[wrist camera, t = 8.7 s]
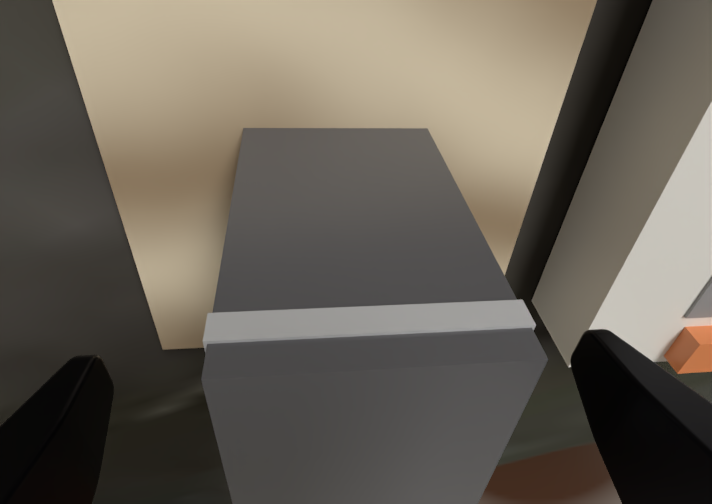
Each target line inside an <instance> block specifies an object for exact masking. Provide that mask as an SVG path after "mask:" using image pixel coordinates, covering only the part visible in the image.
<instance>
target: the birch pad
mask: <svg viewBox="0 0 712 504" xmlns="http://www.w3.org/2000/svg"><path fill="white" fill-rule="evenodd" d="M52 1H53V4H54V8H55V11H56V14H57V17H58V20H59V23H60V27H61V30H62V33H63V36H64V39H65V42H66V45H67V49H68V52H69V55H70V58H71V61H72V64H73V68H74V71H75V74H76V77H77V80H78V83H79V87H80V90H81V93H82V96H83V99H84V102H85V105H86V109H87V112H88V115H89V118H90V121H91V124H92V128H93V131H94V134H95V137H96V140H97V143H98V147H99V150H100V153H101V156H102V159H103V162H104V165H105V169H106V172H107V175H108V178H109V181H110V184H111V188H112V191H113V194H114V197H115V200H116V203H117V207H118V210H119V213H120V216H121V219H122V222H123V225H124V229H125V232H126V235H127V238H128V241H129V244H130V248H131V251H132V254H133V257H134V260H135V263H136V266H137V270H138V273H139V276H140V279H141V282H142V285H143V289H144V292H145V295H146V298H147V301H148V304H149V308H150V311H151V314H152V317H153V320H154V323H155V326H156V330H157V333H158V336H159V339H160V342H161V345H162V349H163V350H167V349H186V348H204V345H203V336H204V331H205V325H206V320H207V314H208V313H212V312H213V306H214V300H215V294H216V288H217V283H218V277H219V271H220V265H221V259H222V253H223V247H224V241H225V235H226V229H227V223H228V217H229V211H230V205H231V199H232V193H233V187H234V181H235V176H236V170H237V164H238V158H239V152H240V146H241V140H242V134H243V128H428V130H429V132H430V134H431V136H432V138H433V140H434V142H435V144H436V146H437V148H438V149H439V151H440V153H441V155H442V157H443V159H444V161H445V163H446V165H447V167H448V169H449V170H450V172H451V174H452V176H453V178H454V180H455V182H456V184H457V186H458V188H459V190H460V192H461V193H462V195H463V197H464V199H465V201H466V203H467V205H468V207H469V209H470V211H471V213H472V214H473V216H474V218H475V220H476V222H477V224H478V226H479V228H480V230H481V232H482V234H483V235H484V237H485V239H486V241H487V243H488V245H489V247H490V249H491V251H492V253H493V255H494V256H495V258H496V260H497V262H498V264H499V266H500V268H501V270H502V272H503V274H504V276H505V273H506V270H507V267H508V264H509V261H510V258H511V255H512V252H513V249H514V246H515V243H516V240H517V237H518V234H519V231H520V228H521V225H522V222H523V219H524V216H525V213H526V210H527V207H528V204H529V201H530V198H531V195H532V192H533V189H534V186H535V183H536V180H537V177H538V174H539V172H540V169H541V166H542V163H543V160H544V157H545V154H546V151H547V148H548V145H549V142H550V139H551V136H552V133H553V130H554V127H555V124H556V121H557V118H558V115H559V112H560V109H561V106H562V103H563V100H564V97H565V94H566V91H567V88H568V85H569V82H570V79H571V76H572V73H573V71H574V68H575V65H576V62H577V59H578V56H579V53H580V50H581V47H582V44H583V41H584V38H585V35H586V32H587V29H588V26H589V23H590V20H591V17H592V14H593V11H594V8H595V5H596V2H597V0H52Z"/></svg>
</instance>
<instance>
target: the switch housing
mask: <svg viewBox="0 0 712 504" xmlns="http://www.w3.org/2000/svg"><path fill="white" fill-rule="evenodd" d="M532 303H533V305H534V306H535V308H536V310H537V312H538V314H539V316H540V317H541V319H542V321H543V323H544V325H545V326H546V328H547V330H548V332H549V334H550V335H551V337H552V339H553V341H554V343H555V344H556V346H557V348H558V350H559V352H560V353H561V355H562V357H563V359H564V361H565V362H566V364H567V366H568V367H571V363H570V361H571V355H572V353H573V351H574V349H575V347H576V346H577V344H578V342H579V340H580V338H581V336H582V334H583V333H584V332H585V331H587V330H594V329H606V330H609V331H611V332H612V333H614V334H615V335H617V336H618V337H620V338H621V339H622V340H624V341H625V342H627V343H628V344H629V345H631V346H632V347H634V348H635V349H636V350H638V351H639V352H641V353H642V354H643V355H645V356H646V357H648V358H649V359H650V360H652V361H653V362H662V361H668V362H669V363H670V365H671V366H672V367H673V369H674V370H675V371H676V373H677V374H681V373H696V372H711V371H712V0H652V3H651V5H650V8H649V10H648V13H647V15H646V18H645V20H644V23H643V25H642V28H641V30H640V33H639V35H638V38H637V40H636V43H635V45H634V48H633V50H632V53H631V55H630V58H629V60H628V62H627V65H626V67H625V70H624V72H623V75H622V77H621V80H620V82H619V85H618V87H617V90H616V92H615V95H614V97H613V100H612V102H611V105H610V107H609V110H608V112H607V115H606V117H605V120H604V122H603V125H602V127H601V129H600V132H599V134H598V137H597V139H596V142H595V144H594V147H593V149H592V152H591V154H590V157H589V159H588V162H587V164H586V167H585V169H584V172H583V174H582V177H581V179H580V182H579V184H578V187H577V189H576V192H575V194H574V196H573V199H572V201H571V204H570V206H569V209H568V211H567V214H566V216H565V219H564V221H563V224H562V226H561V229H560V231H559V234H558V236H557V239H556V241H555V244H554V246H553V249H552V251H551V254H550V256H549V258H548V261H547V263H546V266H545V268H544V271H543V273H542V276H541V278H540V281H539V283H538V286H537V288H536V291H535V293H534V296H533V298H532Z"/></svg>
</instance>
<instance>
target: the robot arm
mask: <svg viewBox="0 0 712 504" xmlns="http://www.w3.org/2000/svg"><path fill="white" fill-rule="evenodd" d="M570 363H571V369H572V372H573V375H574V378H575V381H576V385H577V388H578V391H579V394H580V397H581V400H582V403H583V406H584V409H585V413H586V416H587V419H588V422H589V425H590V428H591V431H592V434H593V437H594V439H595V442H596V444H597V447H598V449H599V452H600V454H601V456H602V458H603V461H604V463H605V465H606V467H607V470H608V472H609V474H610V477H611V479H612V481H613V484H614V486H615V488H616V490H617V493H618V495H619V497H620V500H621V502H622V504H712V403H711V402H709V401H708V400H706V399H705V398H704V397H702V396H701V395H699V394H698V393H697V392H695V391H694V390H692V389H691V388H690V387H688V386H687V385H685V384H684V383H683V382H681V381H680V380H678V379H677V378H676V377H674V376H673V375H671V374H670V373H669V372H667V371H666V370H664V369H663V368H662V367H660V366H659V365H657V364H656V363H655V362H653V361H652V360H650V359H649V358H648V357H646V356H645V355H643V354H642V353H641V352H639V351H638V350H636V349H635V348H634V347H632V346H631V345H629V344H628V343H627V342H625V341H624V340H622V339H621V338H620V337H618V336H617V335H615V334H614V333H612V332H611V331H609V330H606V329H594V330H587V331H585V332H584V333H583V334H582V336H581V338H580V340H579V342H578V344H577V346H576V347H575V349H574V351H573V353H572V355H571V361H570ZM113 395H114V386H113V382H112V380H111V377H110V375H109V373H108V371H107V369H106V366H105V364H104V362H103V360H102V358H101V357H100V356H98V355H86V356H75V357H73V358H71V359H70V360H69V361H68V362H67V363H66V364H65V365H63V366H62V367H61V368H60V369H59V370H58V371H57V372H56V373H55V374H54V375H53V376H52V377H51V378H50V379H49V380H48V381H47V382H46V383H45V384H44V385H43V386H42V387H41V388H40V389H39V390H38V391H36V392H35V393H34V394H33V395H32V396H31V397H30V398H29V399H28V400H27V401H26V402H25V403H24V404H23V405H22V406H21V407H20V408H19V409H18V410H17V411H16V412H15V413H14V414H13V415H12V416H11V417H9V418H8V419H7V420H6V421H5V422H4V423H3V424H2V425H1V426H0V504H92V502H93V498H94V495H95V491H96V487H97V484H98V480H99V475H100V470H101V464H102V459H103V453H104V447H105V441H106V436H107V430H108V424H109V419H110V413H111V407H112V401H113Z"/></svg>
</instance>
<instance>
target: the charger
mask: <svg viewBox="0 0 712 504" xmlns="http://www.w3.org/2000/svg"><path fill="white" fill-rule="evenodd" d="M535 327H536V324H535V322H534V320H533V318H532V316H531V314H530V313H529V311H528V309H527V307H526V305H525V303H524V301H523V300H517V298H516V297H515V295H514V293H513V291H512V289H511V287H510V285H509V283H508V281H507V279H506V277H505V276H504V274H503V272H502V270H501V268H500V266H499V264H498V262H497V260H496V258H495V256H494V255H493V253H492V251H491V249H490V247H489V245H488V243H487V241H486V239H485V237H484V235H483V234H482V232H481V230H480V228H479V226H478V224H477V222H476V220H475V218H474V216H473V214H472V213H471V211H470V209H469V207H468V205H467V203H466V201H465V199H464V197H463V195H462V193H461V192H460V190H459V188H458V186H457V184H456V182H455V180H454V178H453V176H452V174H451V172H450V170H449V169H448V167H447V165H446V163H445V161H444V159H443V157H442V155H441V153H440V151H439V149H438V148H437V146H436V144H435V142H434V140H433V138H432V136H431V134H430V132H429V130H428V128H243V134H242V140H241V146H240V152H239V158H238V164H237V170H236V176H235V181H234V187H233V193H232V199H231V205H230V211H229V217H228V223H227V229H226V235H225V241H224V247H223V253H222V259H221V265H220V271H219V277H218V283H217V288H216V294H215V300H214V306H213V312H212V313H208V314H207V320H206V325H205V331H204V336H203V345H204V350H205V360H204V366H203V372H202V378H201V381H202V385H203V389H204V393H205V397H206V401H207V405H208V409H209V413H210V417H211V421H212V425H213V429H214V432H215V436H216V440H217V444H218V448H219V452H220V456H221V460H222V464H223V468H224V472H225V476H226V480H227V484H228V488H229V492H230V496H231V500H232V504H478V502H479V500H480V498H481V496H482V494H483V492H484V490H485V488H486V486H487V484H488V481H489V480H490V478H491V476H492V473H493V471H494V470H495V467H496V465H497V463H498V461H499V459H500V457H501V455H502V453H503V451H504V449H505V447H506V445H507V443H508V441H509V439H510V437H511V435H512V433H513V431H514V429H515V427H516V424H517V422H518V420H519V418H520V416H521V414H522V412H523V410H524V408H525V406H526V404H527V402H528V400H529V398H530V396H531V394H532V392H533V390H534V388H535V386H536V384H537V382H538V379H539V377H540V375H541V373H542V371H543V369H544V367H545V365H546V363H547V361H548V358H547V356H546V354H545V352H544V350H543V348H542V346H541V344H540V342H539V341H538V339H537V337H536V335H535V333H534V329H535Z"/></svg>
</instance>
